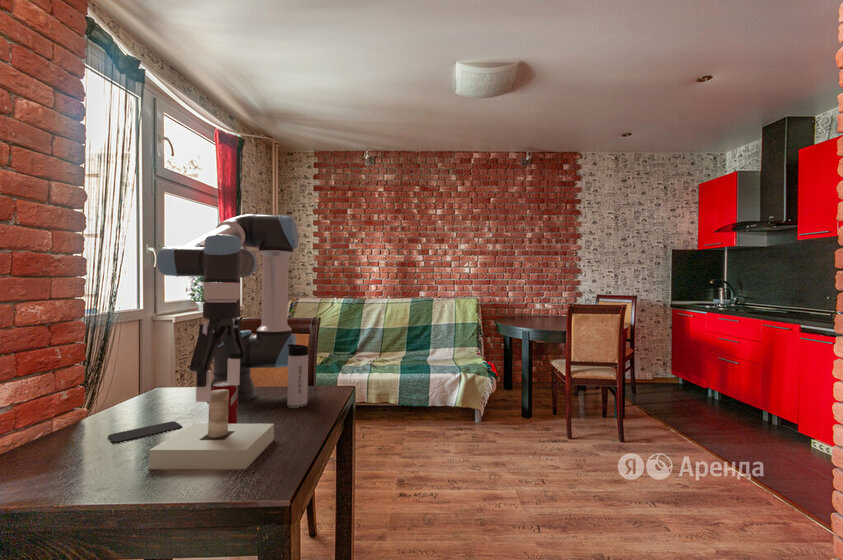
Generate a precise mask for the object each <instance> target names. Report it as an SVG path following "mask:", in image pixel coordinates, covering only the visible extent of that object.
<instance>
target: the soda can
mask: <svg viewBox="0 0 843 560" xmlns="http://www.w3.org/2000/svg"><path fill="white" fill-rule="evenodd" d="M221 389H225V390H229V402H228V424H238V406H239V405H238V404H239V403H238V387H237V386H236V385H227V381H221V382H216V383H214V384H213V388H212V389H211V391H214V390H221Z"/></svg>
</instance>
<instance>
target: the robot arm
mask: <svg viewBox="0 0 843 560" xmlns="http://www.w3.org/2000/svg"><path fill="white" fill-rule="evenodd" d="M298 232H299V231H298V228H297V223H296V221H295V219H294V218H293V217H291V215H281V214H253V213H250V214H243V215H238V216H235V217H231V218H228V219H225V220H223V221H222V222H220V223H218V224H217V226H216V227H215V229H213V230H211V231H209V232H207V233H205V234H204V235H201V236H199V237H197V238H196V239H193V240H192V241H190V242H188V243H186V244H184V245H182V246H174V245H172V246H163V247H161V248H160V249H159V251H158V252H157V255H156V265H157V269H158V271H159V272H160V273H161V274H162V275H163V276H171V277H172V276H173V277H203V287H202V290H203V300H205V302H203V304H202V317H203V318H204V319H208V324H206V323H205V324H204V323H201V324H200V325H199V329H198V337H197V340H196V342H195V347H194V351H193V353H192V357H191V361H190V363H189V371H191V372H196V380H195V381H196V382H195V383H196V384H195V385H196V386H195V389H196V390H195V402H196V403H199V402H200V403H208V404H209V401H211V389H212V388H213V384H214V383H216V382H221V381H227V385H236V386H237V387H238V404H239V403H244V402H247V401H250V399H251V400H252V398H253V399H254V398H255V397H256V388H255V385H254V382H253V378H252V376H251V369H262V368H265V369H266V368H267V369H268V368H270V369H271V368H273V369H274V368H275V369H279V368H288V357H289V356H288V355H289V347H288V345H289V344H293V345H297V335H296V334H295V333H292V328H291V327H290V326H289V324H288V307H289V306H288V304H289V302H288V301H289V269H290V268H289V266H290V265H289V262H290V257H292V256H293V255H294V250H295V249H298V247H299V242H300V241H299V233H298ZM245 248H258V253H259V254H260V255H261V257H262V284H261V287H262V289H261V290H262V291H261V299H262V300H261V325H260V326H259V327H257V329H256V334H253V332H252V330H250V329H246V330H241V327H240V325H241V324H240V319H236V318H239V317H240V303H239V302H238V301H239V300H240V299H241V287H240V286H241V283H240V282H241V278H242V279H245V278H248V277H250V276H251V275H253V274H254V273H255V272H256V270H257V267H258V259H257V257H256V256H255V254H254V253H252V252H250V251H249V250H248V249H245ZM212 362H213V376H212V370H210V369H211V365H212Z"/></svg>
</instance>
